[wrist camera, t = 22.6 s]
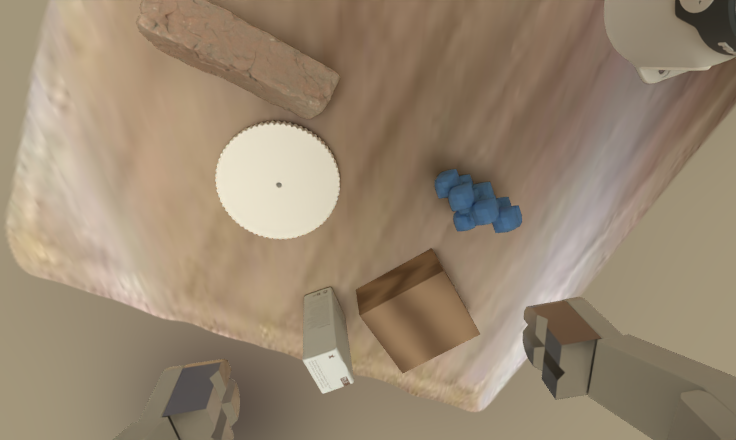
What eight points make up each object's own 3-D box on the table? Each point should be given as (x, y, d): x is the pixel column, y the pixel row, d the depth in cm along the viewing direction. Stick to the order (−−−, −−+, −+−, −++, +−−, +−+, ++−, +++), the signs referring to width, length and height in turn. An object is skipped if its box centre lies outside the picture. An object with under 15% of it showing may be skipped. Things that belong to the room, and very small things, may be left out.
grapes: (404, 193, 49) (428, 235, 38) (432, 145, 47) (465, 176, 36) (478, 228, 52) (519, 276, 41) (507, 185, 50) (558, 224, 39)
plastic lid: (204, 204, 47) (198, 212, 45) (244, 97, 43) (240, 100, 40) (311, 245, 51) (310, 255, 49) (358, 151, 46) (360, 156, 44)
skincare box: (302, 295, 54) (297, 360, 43) (332, 284, 53) (336, 346, 42) (319, 328, 56) (319, 396, 45) (348, 317, 56) (355, 384, 45)
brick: (343, 72, 35) (323, 120, 35) (324, 86, 43) (308, 125, 43) (151, -36, 29) (128, 21, 30) (170, 3, 37) (151, 48, 37)
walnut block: (431, 247, 53) (443, 270, 48) (465, 306, 58) (480, 334, 52) (355, 288, 54) (359, 315, 49) (395, 343, 59) (402, 373, 54)
